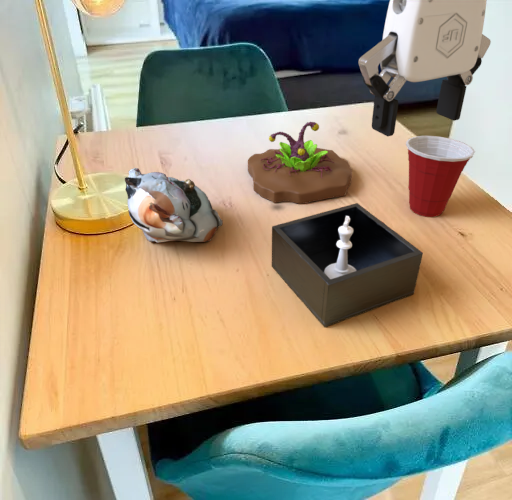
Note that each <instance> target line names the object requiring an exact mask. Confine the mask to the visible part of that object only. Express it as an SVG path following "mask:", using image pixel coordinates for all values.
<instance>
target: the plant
mask: <svg viewBox="0 0 512 500" xmlns="http://www.w3.org/2000/svg"><path fill="white" fill-rule="evenodd" d="M307 127H310V129H311V130H312V131H313V132H317V131H318V130H319V129H320V125H319V123H317V122H316V121H309V122H308V121H307V122H305V124H304V125H303V126H302V128H301V129H300V131H299V133H298V138H297V140H296V139H294V138H293V137H292V135H290V134H288V133H286V132H283V131H277V132H275V133H272V134H270V135H268V141H269V142H271V143H273V142H275V141H276V139H277V136H283V138H284V137H285V138H286V140H287V141H288V142H289V143H286V142H283V141H280V142H279V144H278V145H279V147H280V148H278V149H277V148H269V149H267V150H266V151H264V152H262V153H254V154H252V155H251V156H250V157H249V158H248V159H247V173H248V174H249V176H250V177H251V178H252V181H253V182H252V183H253V185H252V187H253V191H254V192H255V193H257V194H258V195H259V196H260V197H261V198H264V199H266V200H269V201H270V202H271V203H274V204H275V203H281V202H291V203H296V204H308V203H313V202H317V201H318V202H319V201H321V200H329V199H333V198H339V197H345V196H346V195H347V191H348V188H349V187H350V186H351V184H352V178H353V177H352V176H353V169H352V167H351V164H350V163H349V160H347V159H345V158H342V157H340V156H339V155H338V154H337V153H336V152H335V151H334V150H333V149H327V148H326V149H325V148H321V147H318V144H317V143H314V141H313V140H311V139H309V140H307V141H304V140H305V139H304V137H305V132H306V130H307Z"/></svg>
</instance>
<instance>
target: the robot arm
mask: <svg viewBox="0 0 512 500" xmlns="http://www.w3.org/2000/svg"><path fill="white" fill-rule="evenodd" d="M486 9H487V0H389V2H388V7H387V11H386V16H385V22H384V27H383V33H382V40H381V41H379V42H378V43H377V44H376V45H375V46H373V47H372V48H370V49H369V50H368V51H366V52H365V53H364V54H363V55H361V56H360V57H359V58H358V66H359V69H360V72H361V75H362V77H363V78H362V80H363V83H364V84H365V86H366V87H367V88H368V89H369V92H370V94H371V95H372V96H374V99H373V101H374V102H373V109H372V117H371V128H372V130H374V131H375V132H378V133H380V134H381V135H384V136H386V137H392V136H393V135H394V134H395V130H396V123H397V116H398V109H399V100H398V99H396V96H397V95H398V94H399V92H400V91H401V89H402V88H403V86H404V85H405V84H406V82H407V81H408V82H410V83H419V82H425V81H430V80H435V79H441V78H447V79H442V81H441V84H440V88H439V89H440V90H439V95H438V101H437V105H436V110H435V112H436V114H437V115H439V116H441V117H444V118H446V119H449V120H451V121H455V122H456V121H458V120H460V118H461V114H462V109H463V104H464V100H465V95H466V91H467V86H470V85H471V83H472V82H473V79H474V74H475V73H476V71H478V69H479V68H480V67H481V65H482V63H483V61H482V60H483V58H484V56H486V53H487V51H488V50H489V47H490V46H491V43H492V41H491V39H490V38H489V37H487V36H486V35H485V34H483V31H484V25H485V17H486ZM379 65H380V70H381V71H380V73H379ZM391 78H393V79H392V80H391ZM390 80H391V81H390ZM388 83H389V84H388Z"/></svg>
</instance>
